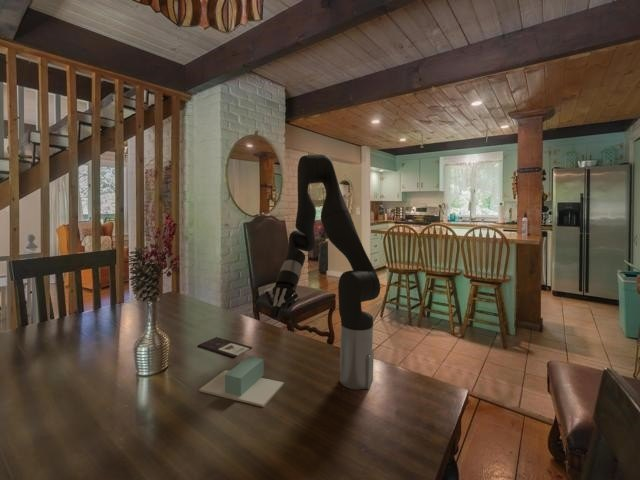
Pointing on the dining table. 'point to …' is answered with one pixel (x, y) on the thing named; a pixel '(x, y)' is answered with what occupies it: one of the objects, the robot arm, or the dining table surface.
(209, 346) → the chocolate bar
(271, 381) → the cream mat
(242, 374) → the teal block
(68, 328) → the dining table surface
